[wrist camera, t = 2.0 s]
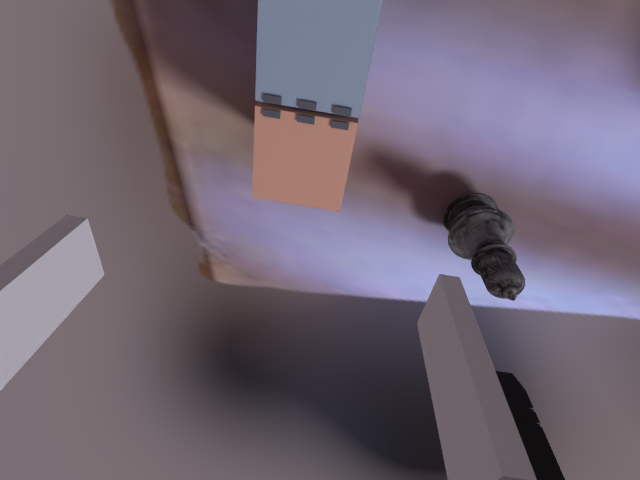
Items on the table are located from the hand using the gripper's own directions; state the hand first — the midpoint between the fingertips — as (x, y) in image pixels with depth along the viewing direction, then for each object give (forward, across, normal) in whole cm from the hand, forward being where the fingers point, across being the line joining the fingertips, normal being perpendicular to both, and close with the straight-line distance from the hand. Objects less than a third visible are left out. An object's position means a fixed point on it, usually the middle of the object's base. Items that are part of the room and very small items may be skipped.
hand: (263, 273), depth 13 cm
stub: (+21, 0, 0) cm, 21 cm away
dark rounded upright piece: (+22, +17, -7) cm, 29 cm away
